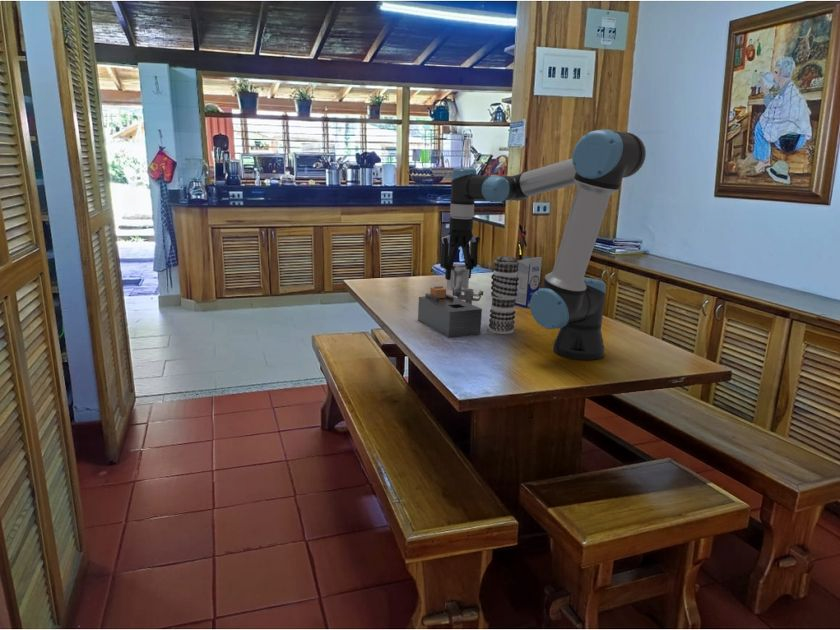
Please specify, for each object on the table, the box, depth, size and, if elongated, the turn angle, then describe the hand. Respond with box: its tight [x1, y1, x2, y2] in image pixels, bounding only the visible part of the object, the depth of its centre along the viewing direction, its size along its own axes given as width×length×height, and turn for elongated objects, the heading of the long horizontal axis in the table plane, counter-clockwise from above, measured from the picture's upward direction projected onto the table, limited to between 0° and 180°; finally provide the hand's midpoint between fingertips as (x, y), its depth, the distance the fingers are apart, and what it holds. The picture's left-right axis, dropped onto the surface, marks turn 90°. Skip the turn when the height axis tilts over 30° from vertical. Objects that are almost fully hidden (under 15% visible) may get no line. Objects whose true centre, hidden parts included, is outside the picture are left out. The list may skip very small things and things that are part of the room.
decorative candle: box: [488, 255, 519, 335], centre depth 194 cm, size 9×9×25 cm
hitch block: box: [417, 293, 483, 339], centre depth 198 cm, size 22×12×10 cm, turn 27°
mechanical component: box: [456, 288, 484, 305], centre depth 213 cm, size 3×10×10 cm, turn 78°
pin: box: [451, 263, 467, 297], centre depth 191 cm, size 5×5×10 cm
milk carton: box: [514, 255, 543, 309], centre depth 231 cm, size 7×7×20 cm
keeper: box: [429, 285, 447, 298], centre depth 204 cm, size 4×4×4 cm
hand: (457, 288), depth 192 cm, fingers closed on pin, 5 cm apart
